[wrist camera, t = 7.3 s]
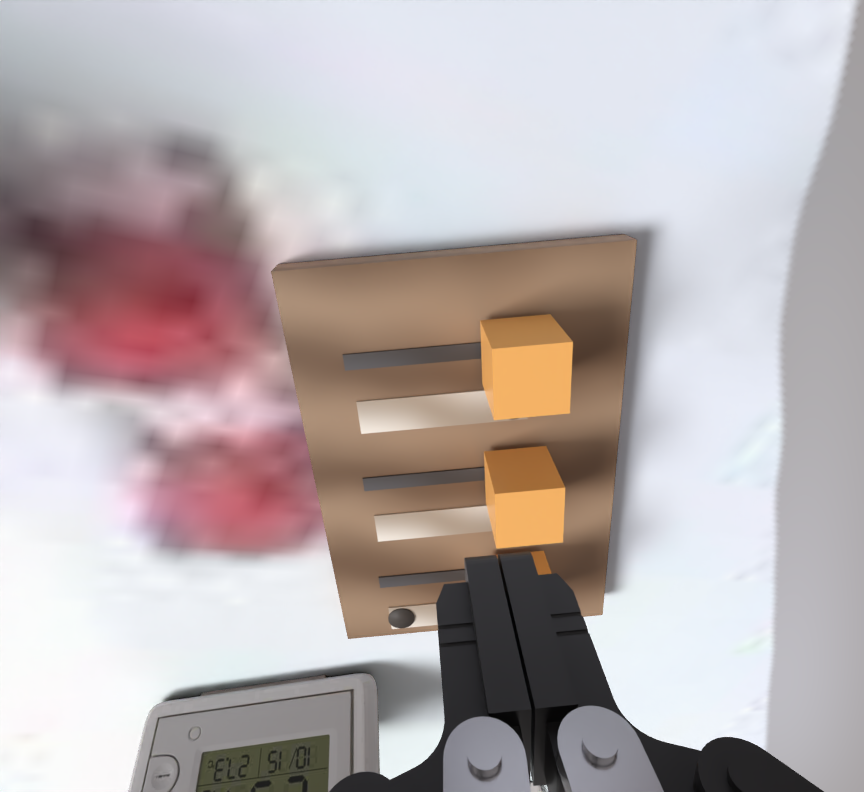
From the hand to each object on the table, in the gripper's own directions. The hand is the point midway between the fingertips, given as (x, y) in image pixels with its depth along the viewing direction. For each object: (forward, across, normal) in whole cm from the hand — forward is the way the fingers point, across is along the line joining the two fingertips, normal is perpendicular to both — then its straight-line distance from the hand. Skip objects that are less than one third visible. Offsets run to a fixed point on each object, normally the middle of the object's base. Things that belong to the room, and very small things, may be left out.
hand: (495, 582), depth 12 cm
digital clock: (+16, +14, +26) cm, 34 cm away
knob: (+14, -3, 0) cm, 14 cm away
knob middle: (+14, -3, +7) cm, 16 cm away
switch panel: (+16, -1, +7) cm, 18 cm away
